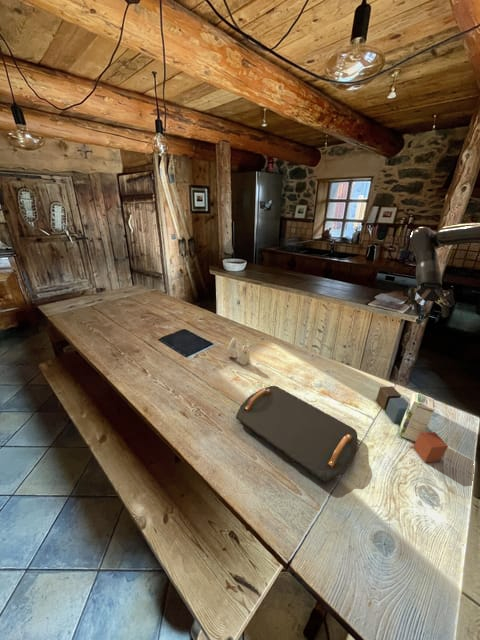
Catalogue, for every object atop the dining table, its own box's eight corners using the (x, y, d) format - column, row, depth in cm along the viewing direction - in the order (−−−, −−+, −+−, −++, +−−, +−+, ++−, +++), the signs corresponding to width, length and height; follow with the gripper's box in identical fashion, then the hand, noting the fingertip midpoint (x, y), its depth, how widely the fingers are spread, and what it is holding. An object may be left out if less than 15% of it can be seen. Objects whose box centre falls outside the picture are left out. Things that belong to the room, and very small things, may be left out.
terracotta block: (428, 446, 83) (434, 431, 81) (440, 461, 79) (448, 446, 76) (413, 447, 83) (419, 433, 80) (424, 462, 78) (431, 447, 76)
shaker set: (225, 357, 127) (224, 337, 122) (230, 353, 130) (230, 333, 125) (245, 366, 120) (245, 345, 115) (250, 362, 123) (251, 341, 118)
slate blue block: (398, 411, 97) (403, 397, 94) (407, 421, 92) (412, 407, 90) (385, 412, 96) (389, 398, 94) (393, 422, 92) (398, 408, 89)
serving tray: (365, 441, 85) (369, 427, 82) (333, 496, 69) (337, 481, 67) (267, 386, 108) (268, 374, 105) (228, 418, 92) (227, 405, 90)
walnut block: (388, 399, 102) (392, 386, 99) (396, 409, 98) (401, 395, 95) (375, 400, 102) (380, 387, 99) (383, 410, 97) (388, 396, 94)
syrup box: (400, 424, 91) (412, 391, 85) (420, 431, 89) (434, 398, 82) (399, 436, 87) (412, 402, 81) (420, 444, 84) (435, 409, 78)
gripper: (412, 269, 97) (415, 310, 92) (455, 271, 95) (461, 313, 89) (403, 278, 104) (405, 317, 99) (443, 281, 102) (447, 321, 96)
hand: (431, 315), depth 94 cm, fingers open, 8 cm apart
